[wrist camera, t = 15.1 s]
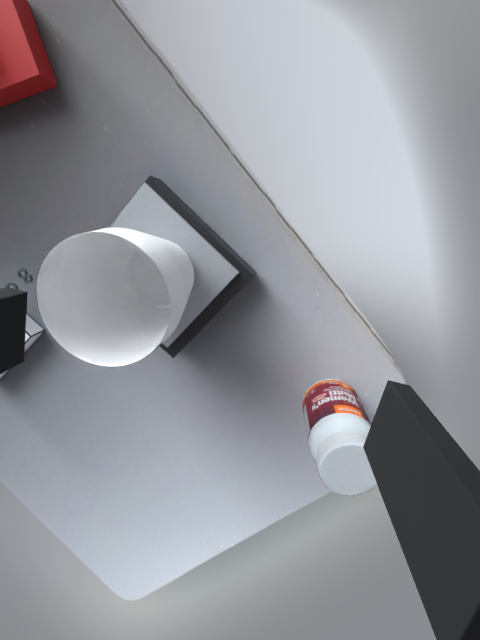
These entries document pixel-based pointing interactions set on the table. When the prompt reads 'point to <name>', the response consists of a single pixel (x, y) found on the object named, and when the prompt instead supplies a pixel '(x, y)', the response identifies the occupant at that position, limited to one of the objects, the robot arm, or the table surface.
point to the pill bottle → (338, 436)
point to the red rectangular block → (21, 54)
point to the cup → (113, 294)
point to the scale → (200, 245)
